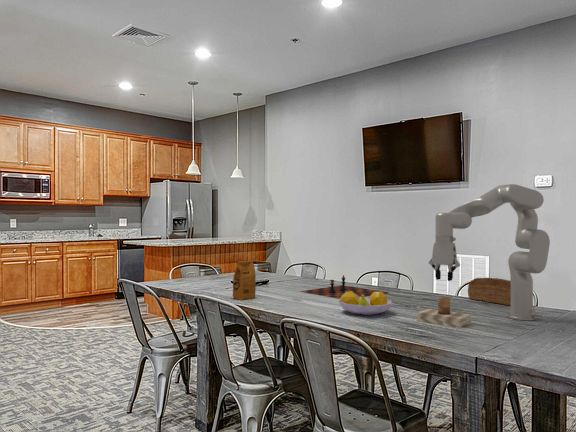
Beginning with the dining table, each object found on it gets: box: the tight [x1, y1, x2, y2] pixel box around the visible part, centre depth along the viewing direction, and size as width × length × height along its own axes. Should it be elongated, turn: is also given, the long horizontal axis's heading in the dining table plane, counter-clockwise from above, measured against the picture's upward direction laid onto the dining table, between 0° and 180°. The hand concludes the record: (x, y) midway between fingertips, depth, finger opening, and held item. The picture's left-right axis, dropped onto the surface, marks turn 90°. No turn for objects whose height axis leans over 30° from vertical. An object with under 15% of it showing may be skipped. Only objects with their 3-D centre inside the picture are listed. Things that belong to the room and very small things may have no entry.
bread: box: [467, 277, 511, 306], centre depth 266 cm, size 12×31×14 cm, turn 35°
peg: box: [437, 296, 451, 315], centre depth 213 cm, size 5×5×11 cm
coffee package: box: [232, 260, 257, 301], centre depth 274 cm, size 10×12×22 cm
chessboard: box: [299, 275, 389, 300], centre depth 299 cm, size 40×40×11 cm
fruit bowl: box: [337, 291, 392, 316], centre depth 234 cm, size 28×27×11 cm
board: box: [416, 308, 472, 329], centre depth 213 cm, size 20×12×4 cm, turn 46°
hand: (444, 279), depth 213 cm, fingers open, 4 cm apart
